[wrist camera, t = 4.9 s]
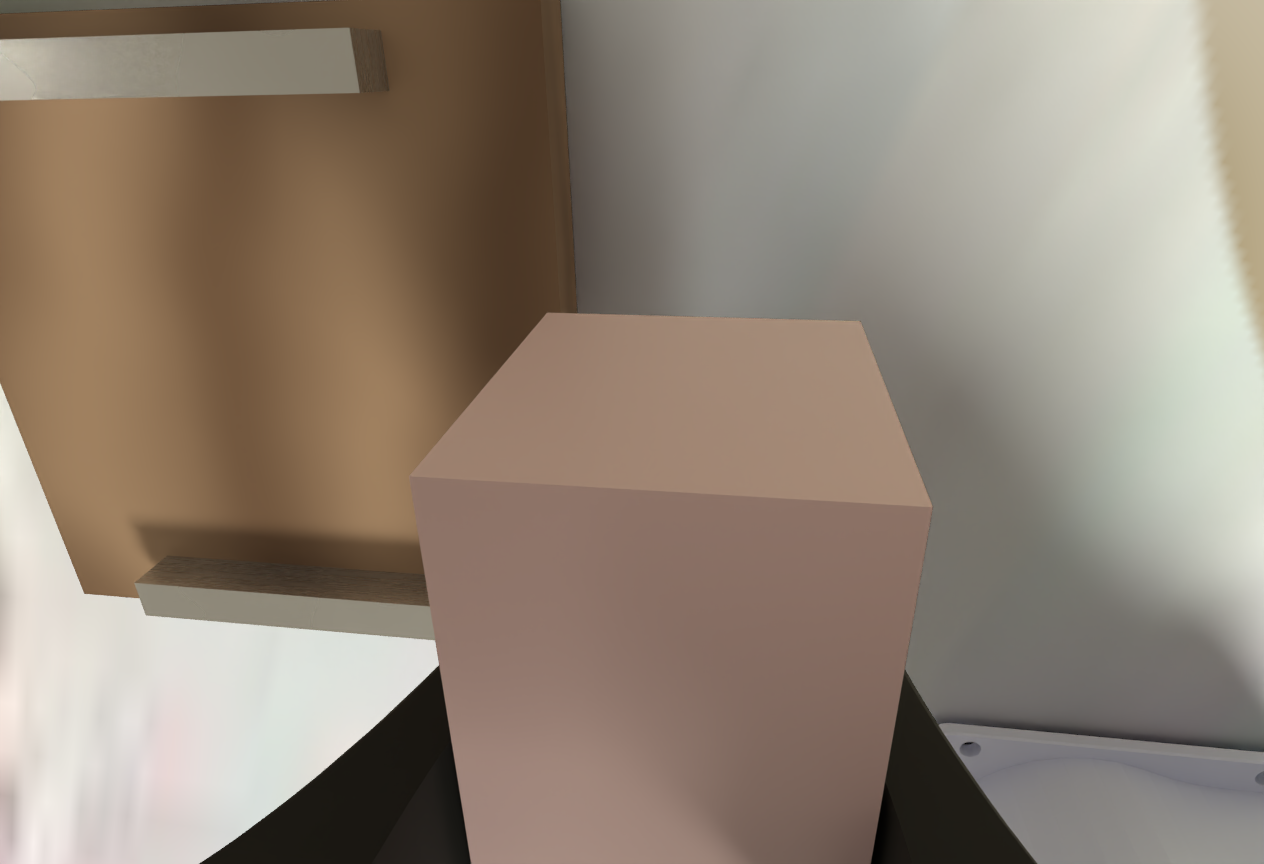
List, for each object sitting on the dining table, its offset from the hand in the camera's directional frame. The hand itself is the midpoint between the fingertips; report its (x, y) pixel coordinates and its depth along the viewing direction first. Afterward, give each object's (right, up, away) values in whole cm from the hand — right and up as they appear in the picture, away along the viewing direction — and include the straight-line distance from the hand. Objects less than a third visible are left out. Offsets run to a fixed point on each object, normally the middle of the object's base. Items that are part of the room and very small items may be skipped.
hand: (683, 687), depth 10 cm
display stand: (-9, +6, +8) cm, 13 cm away
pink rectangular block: (0, +1, +1) cm, 2 cm away
